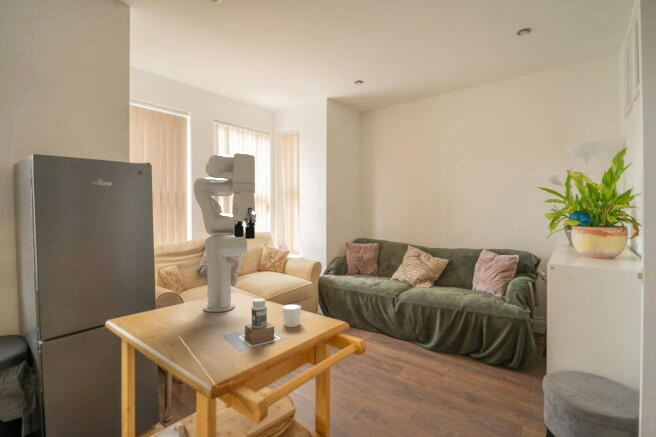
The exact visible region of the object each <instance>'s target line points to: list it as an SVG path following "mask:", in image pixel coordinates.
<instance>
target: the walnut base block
mask: <svg viewBox="0 0 656 437" xmlns="http://www.w3.org/2000/svg"><path fill="white" fill-rule="evenodd" d="M244 330H245V338H246V339H248V340H249V341H250V342H252V343H253V344H257V343H261V342H264V341H268V340H272V339H274V330H275V326H274V325H272V324H271V323H270V322H267V325H266V326H265V327H262V328H254V327H252V323H249V324H248V323H247V324H245V325H244Z"/></svg>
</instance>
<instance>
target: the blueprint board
mask: <svg viewBox="0 0 656 437" xmlns="http://www.w3.org/2000/svg"><path fill="white" fill-rule="evenodd" d="M221 336H222V337H223V338H224V339H225V340H226V341H227V342H228V343H229V344H230V345H231V346H233V348H235V350H236V351H238V352H242V351H247V350H249V349H253V348H256V347H257V348H258V347H260V346H265V345H267V344H272V343H276V342H279V341H282V340H285V339H287V337H286V336H285V335H283V334H281V333H280V332H278V331H276V330H275V329H274V339H272V340H268V341H264V342H261V343H257V344H253V343H252V342H250V341H249V340H248V339H246V338H245V329H243V330H240V331H236V332H231V333H226V334H222V335H221Z"/></svg>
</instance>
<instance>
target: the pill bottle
mask: <svg viewBox="0 0 656 437" xmlns="http://www.w3.org/2000/svg"><path fill="white" fill-rule="evenodd" d="M267 312H268V311H267V305H266V299H265V298H262V297H260V298H259V297H258V298H254V299H252V306H251V324H252V327H254V328H262V327H265V326H266V325H267V320H268V319H267V317H268V316H267V315H268V313H267Z"/></svg>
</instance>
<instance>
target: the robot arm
mask: <svg viewBox="0 0 656 437" xmlns="http://www.w3.org/2000/svg"><path fill="white" fill-rule="evenodd" d="M205 172H206V174H207V175H208V176H209V177H207V176H203V177H199V178H196V179H195V181H194V182H193V194H194V198H195V200H196V202H197V204H198V206H199V208H200V210H201V214H202V220H203V225H204V229H205V231H206V234H208V235H210V236H208V237H207V238H206V239H205V241H204V249H205V255H206V265H207V266H206V268H207V270H206V272H207V303H206V304H205V305H204V306H203V311H205V312H209V313H222V312H227V311H230V310H233V309H234V308H235V303H234V302H232V277H231V276H232V274H231V273H232V269H231V268H232V267H231V265H230V263H229V262H228V261H227V259H226V257H235V256H237V257H238V256H242V255H245V254H246V253H247V251H248V241H247V240H253V239H255V237H256V231H255V229H256V228H255V227H256V219H257V218H256V217H257V213H256V203H255V194H256V158H255V155H254V154H252V153H248V152H236V153H234V154H233V155H231V154H230V155H229V154H213V155H211V156H210V157H209V159H208V161H207V162H206V165H205ZM232 195H233V198H232V208H231V210H232V211H231V213H223V211H222V207H221V205H220V203H219V202H218V201H217V200H216V199H215V198H213V197H230V196H232ZM244 223H245V226H244V225H243V224H244Z"/></svg>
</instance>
